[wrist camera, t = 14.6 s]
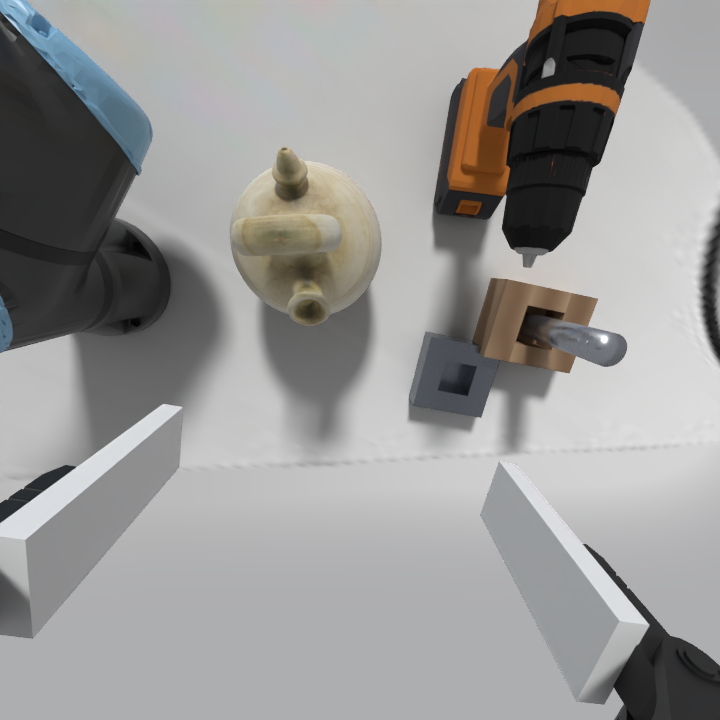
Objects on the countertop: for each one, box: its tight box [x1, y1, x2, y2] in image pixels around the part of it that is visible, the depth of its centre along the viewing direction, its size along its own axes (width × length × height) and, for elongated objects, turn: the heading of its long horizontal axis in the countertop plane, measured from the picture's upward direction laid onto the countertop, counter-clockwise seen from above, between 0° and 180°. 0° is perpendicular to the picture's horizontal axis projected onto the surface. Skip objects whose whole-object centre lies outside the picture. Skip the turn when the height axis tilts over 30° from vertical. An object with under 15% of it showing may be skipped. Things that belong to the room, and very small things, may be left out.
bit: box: [518, 312, 627, 367], centre depth 39 cm, size 3×3×16 cm
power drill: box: [434, 0, 650, 268], centre depth 31 cm, size 22×7×25 cm, turn 173°
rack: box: [473, 278, 598, 373], centre depth 45 cm, size 12×10×5 cm
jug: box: [230, 147, 381, 326], centre depth 32 cm, size 15×16×25 cm
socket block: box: [409, 332, 500, 418], centre depth 48 cm, size 10×10×4 cm
